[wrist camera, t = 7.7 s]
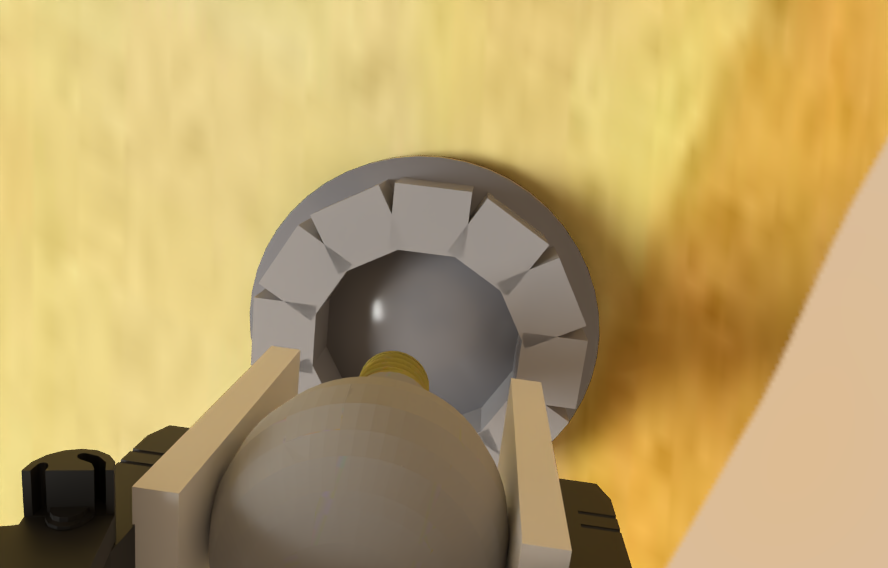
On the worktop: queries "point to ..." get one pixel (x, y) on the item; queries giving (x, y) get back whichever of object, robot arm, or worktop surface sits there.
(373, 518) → the light bulb
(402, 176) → the socket
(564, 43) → the worktop surface
